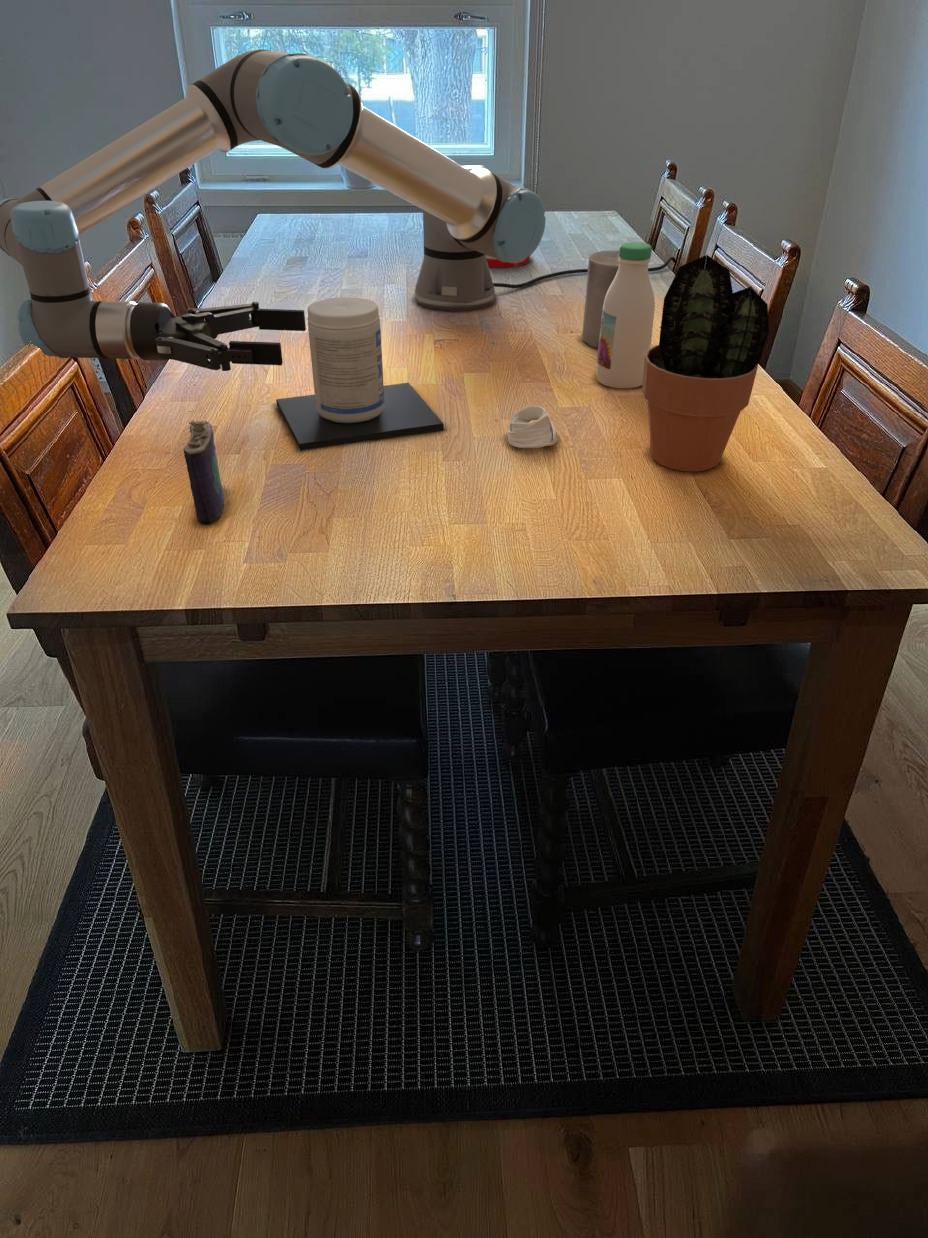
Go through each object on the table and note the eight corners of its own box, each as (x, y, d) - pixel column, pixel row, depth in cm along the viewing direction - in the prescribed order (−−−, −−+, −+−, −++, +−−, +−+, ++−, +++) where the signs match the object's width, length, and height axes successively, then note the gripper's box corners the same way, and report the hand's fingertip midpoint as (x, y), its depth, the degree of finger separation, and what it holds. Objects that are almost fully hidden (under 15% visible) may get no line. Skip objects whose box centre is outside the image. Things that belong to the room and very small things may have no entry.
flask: (202, 488, 111) (188, 405, 105) (227, 487, 111) (214, 404, 105) (195, 526, 104) (179, 439, 97) (221, 525, 104) (207, 437, 98)
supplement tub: (397, 416, 127) (393, 309, 118) (335, 431, 123) (327, 321, 114) (363, 393, 133) (358, 290, 125) (304, 407, 129) (294, 301, 121)
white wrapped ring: (562, 458, 121) (568, 425, 118) (512, 457, 119) (518, 424, 116) (547, 429, 127) (553, 397, 124) (500, 428, 125) (505, 395, 122)
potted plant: (676, 489, 112) (709, 279, 97) (611, 447, 122) (633, 250, 107) (761, 467, 117) (805, 264, 103) (693, 428, 127) (724, 238, 112)
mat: (408, 388, 138) (408, 382, 137) (443, 430, 126) (443, 423, 125) (276, 405, 132) (275, 399, 132) (299, 450, 120) (299, 443, 119)
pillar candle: (645, 336, 158) (656, 245, 150) (628, 353, 151) (639, 259, 142) (591, 328, 162) (599, 238, 153) (573, 345, 154) (580, 252, 146)
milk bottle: (649, 375, 143) (667, 240, 132) (640, 392, 137) (658, 253, 126) (601, 368, 145) (614, 236, 134) (590, 385, 139) (603, 248, 128)
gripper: (174, 329, 136) (315, 333, 135) (108, 392, 116) (273, 398, 115) (165, 277, 132) (310, 281, 130) (95, 333, 112) (266, 339, 110)
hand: (293, 336), depth 123 cm, fingers open, 13 cm apart
